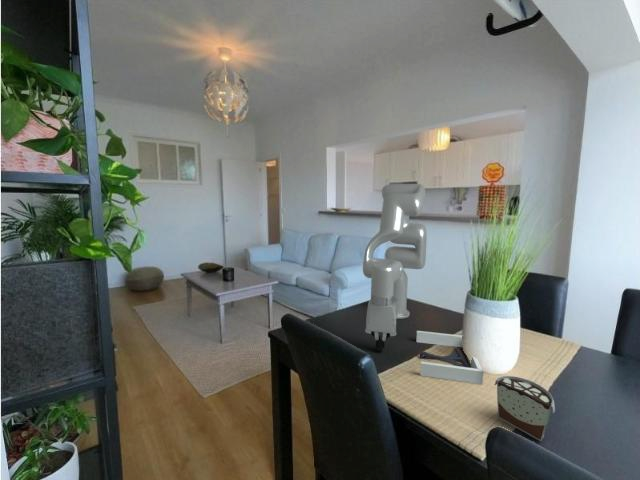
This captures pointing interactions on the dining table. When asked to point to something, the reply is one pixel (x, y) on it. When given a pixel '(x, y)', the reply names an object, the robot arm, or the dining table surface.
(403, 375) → the dining table surface
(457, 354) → the bracket
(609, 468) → the dining table surface
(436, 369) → the box
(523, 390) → the mint chocolate cake slice
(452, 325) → the dining table surface
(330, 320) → the dining table surface
